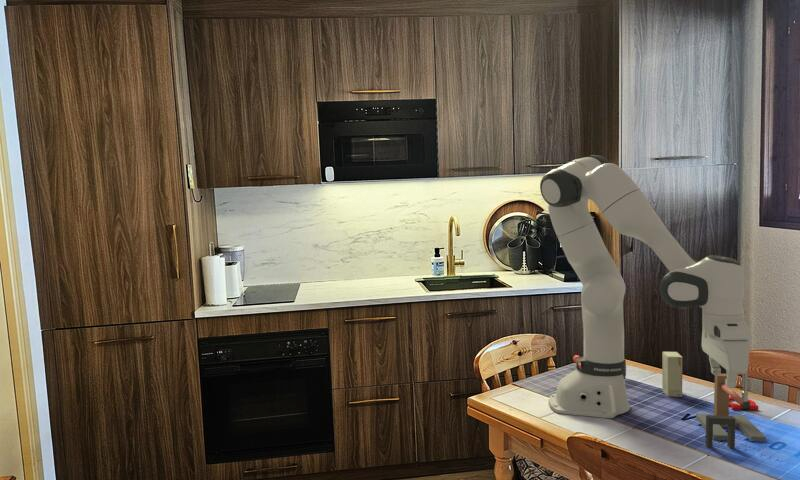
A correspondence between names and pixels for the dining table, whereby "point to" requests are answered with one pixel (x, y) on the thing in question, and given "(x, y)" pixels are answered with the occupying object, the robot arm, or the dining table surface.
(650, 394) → the dining table surface
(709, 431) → the bight
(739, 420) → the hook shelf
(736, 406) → the tow hook
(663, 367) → the skincare box
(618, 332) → the robot arm
